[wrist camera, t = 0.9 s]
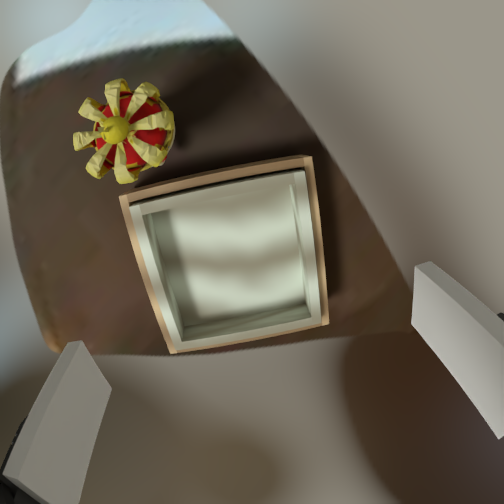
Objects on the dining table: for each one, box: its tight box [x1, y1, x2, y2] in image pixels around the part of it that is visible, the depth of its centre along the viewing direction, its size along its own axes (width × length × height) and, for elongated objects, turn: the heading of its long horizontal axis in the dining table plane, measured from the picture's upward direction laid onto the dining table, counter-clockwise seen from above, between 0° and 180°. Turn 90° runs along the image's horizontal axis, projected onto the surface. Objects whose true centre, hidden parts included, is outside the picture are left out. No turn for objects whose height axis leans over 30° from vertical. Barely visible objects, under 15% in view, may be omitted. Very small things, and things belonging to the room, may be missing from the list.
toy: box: [73, 78, 175, 184], centre depth 22 cm, size 7×7×15 cm
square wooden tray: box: [119, 154, 329, 354], centre depth 31 cm, size 18×18×5 cm
